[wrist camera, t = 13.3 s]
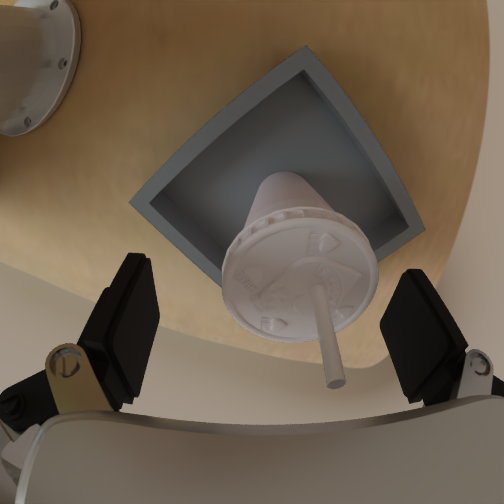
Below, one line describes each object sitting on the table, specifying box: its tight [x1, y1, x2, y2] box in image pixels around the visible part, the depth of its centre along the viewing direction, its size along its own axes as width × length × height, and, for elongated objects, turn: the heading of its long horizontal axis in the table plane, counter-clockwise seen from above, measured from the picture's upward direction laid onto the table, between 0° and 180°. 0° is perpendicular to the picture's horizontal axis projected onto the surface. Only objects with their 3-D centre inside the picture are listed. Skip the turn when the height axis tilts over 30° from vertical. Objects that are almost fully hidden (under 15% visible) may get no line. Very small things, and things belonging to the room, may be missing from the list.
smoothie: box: [222, 171, 379, 389], centre depth 13 cm, size 6×6×14 cm
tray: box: [129, 45, 425, 288], centre depth 19 cm, size 14×14×3 cm
